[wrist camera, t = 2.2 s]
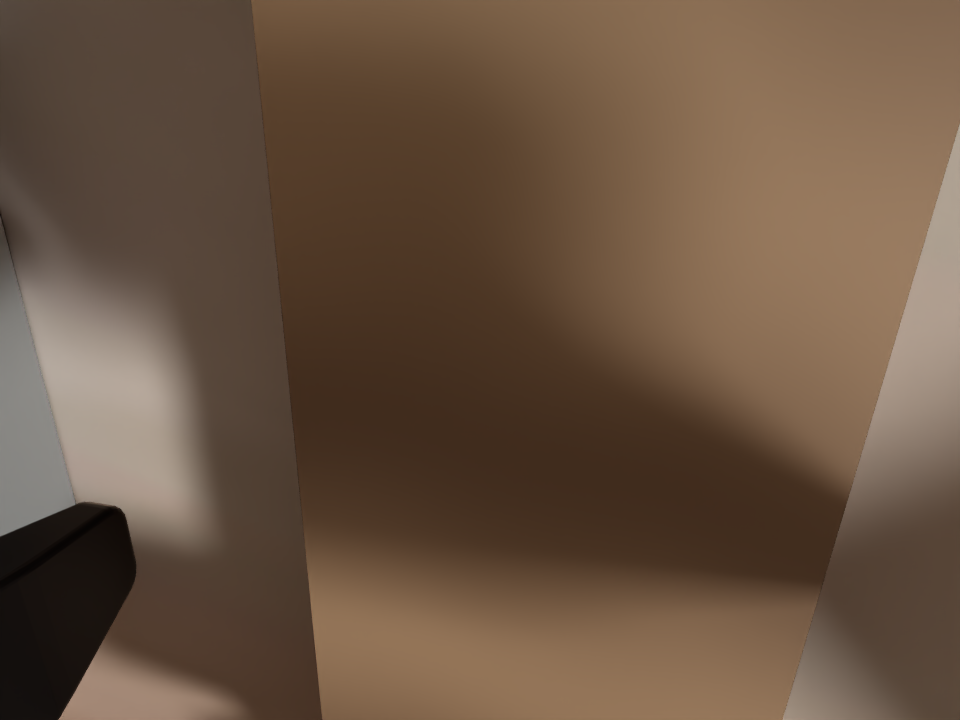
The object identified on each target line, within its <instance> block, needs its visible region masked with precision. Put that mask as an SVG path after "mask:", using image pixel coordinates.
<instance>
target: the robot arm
mask: <svg viewBox="0 0 960 720" xmlns="http://www.w3.org/2000/svg"><path fill="white" fill-rule="evenodd" d="M135 576H136V559H135V555H134V551H133V546H132V542H131V537H130V533H129V528H128V524H127V520H126V516H125V514H124V513H123V511H122V510H121V509H120V508H118V507H116V506H112V505H106V504H100V503H94V502H81V503H78V504H75V505H73V506H71V507H68V508H66V509H64V510H61V511H59V512H57V513H54V514H52V515H49V516H47V517H45V518H42V519H40V520H38V521H35V522H33V523H31V524H28V525H26V526H23V527H21V528H19V529H16V530H14V531H12V532H9V533H7V534H5V535H2V536H0V720H58V719H59V718H60V716H61V715H62V713H63V711H64V709H65V708H66V706H67V704H68V703H69V701H70V699H71V698H72V696H73V694H74V692H75V691H76V689H77V687H78V685H79V683H80V681H81V680H82V678H83V676H84V674H85V672H86V671H87V669H88V667H89V665H90V663H91V661H92V660H93V658H94V656H95V654H96V652H97V651H98V649H99V647H100V645H101V643H102V641H103V640H104V638H105V636H106V634H107V632H108V630H109V629H110V627H111V625H112V623H113V621H114V620H115V618H116V616H117V614H118V612H119V610H120V609H121V607H122V605H123V603H124V601H125V600H126V598H127V596H128V594H129V592H130V590H131V588H132V586H133V583H134V581H135Z"/></svg>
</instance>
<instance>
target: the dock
mask: <svg viewBox="0 0 960 720" xmlns="http://www.w3.org/2000/svg"><path fill="white" fill-rule="evenodd" d="M75 504H76V503H75V499H74V495H73V491H72V488H71V484H70V480H69V476H68V472H67V468H66V465H65V461H64V457H63V453H62V449H61V446H60V442H59V438H58V434H57V430H56V427H55V423H54V419H53V415H52V411H51V407H50V404H49V400H48V396H47V392H46V388H45V385H44V381H43V377H42V373H41V369H40V366H39V362H38V358H37V354H36V350H35V346H34V343H33V339H32V335H31V331H30V327H29V324H28V320H27V316H26V312H25V308H24V305H23V301H22V297H21V293H20V289H19V285H18V282H17V278H16V274H15V270H14V266H13V263H12V259H11V255H10V251H9V247H8V243H7V240H6V236H5V232H4V228H3V224H2V221H1V217H0V536H2V535H5V534H7V533H9V532H12V531H14V530H16V529H19V528H21V527H23V526H26V525H28V524H31V523H33V522H35V521H38V520H40V519H42V518H45V517H47V516H49V515H52V514H54V513H57V512H59V511H61V510H64V509H66V508H68V507H71V506H73V505H75Z"/></svg>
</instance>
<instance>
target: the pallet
mask: <svg viewBox="0 0 960 720" xmlns="http://www.w3.org/2000/svg"><path fill="white" fill-rule="evenodd" d="M251 5H252V15H253V25H254V35H255V45H256V55H257V65H258V75H259V86H260V96H261V106H262V116H263V126H264V136H265V146H266V156H267V166H268V177H269V187H270V197H271V207H272V217H273V227H274V237H275V247H276V258H277V268H278V278H279V288H280V298H281V308H282V318H283V328H284V339H285V349H286V359H287V369H288V379H289V389H290V399H291V409H292V419H293V430H294V440H295V450H296V460H297V470H298V480H299V490H300V500H301V511H302V521H303V531H304V541H305V551H306V561H307V571H308V581H309V592H310V602H311V612H312V622H313V632H314V642H315V652H316V662H317V672H318V683H319V693H320V703H321V713H322V720H782V719H783V716H784V712H785V709H786V706H787V702H788V699H789V696H790V692H791V689H792V685H793V682H794V679H795V675H796V672H797V669H798V665H799V662H800V659H801V655H802V652H803V648H804V645H805V642H806V638H807V635H808V632H809V628H810V625H811V622H812V618H813V615H814V611H815V608H816V605H817V601H818V598H819V595H820V591H821V588H822V585H823V581H824V578H825V574H826V571H827V568H828V564H829V561H830V558H831V554H832V551H833V548H834V544H835V541H836V537H837V534H838V531H839V527H840V524H841V521H842V517H843V514H844V511H845V507H846V504H847V500H848V497H849V494H850V490H851V487H852V484H853V480H854V477H855V474H856V470H857V467H858V463H859V460H860V457H861V453H862V450H863V447H864V443H865V440H866V437H867V433H868V430H869V426H870V423H871V420H872V416H873V413H874V410H875V406H876V403H877V400H878V396H879V393H880V389H881V386H882V383H883V379H884V376H885V373H886V369H887V366H888V363H889V359H890V356H891V352H892V349H893V346H894V342H895V339H896V336H897V332H898V329H899V326H900V322H901V319H902V315H903V312H904V309H905V305H906V302H907V299H908V295H909V292H910V289H911V285H912V282H913V278H914V275H915V272H916V268H917V265H918V262H919V258H920V255H921V252H922V248H923V245H924V241H925V238H926V235H927V231H928V228H929V225H930V221H931V218H932V215H933V211H934V208H935V204H936V201H937V198H938V194H939V191H940V188H941V184H942V181H943V178H944V174H945V171H946V167H947V164H948V161H949V157H950V154H951V151H952V147H953V144H954V141H955V137H956V134H957V130H958V127H959V124H960V0H251Z"/></svg>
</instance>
